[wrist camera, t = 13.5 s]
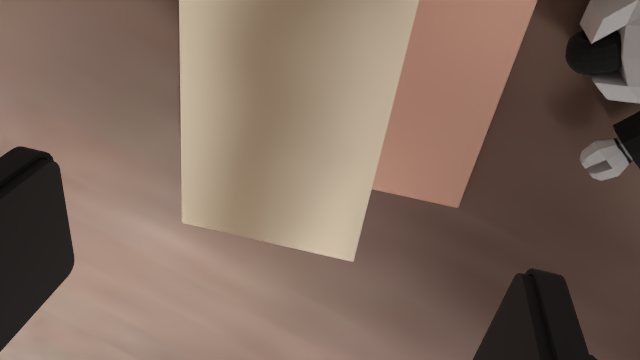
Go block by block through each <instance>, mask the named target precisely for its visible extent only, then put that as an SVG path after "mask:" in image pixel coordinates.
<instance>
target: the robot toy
mask: <svg viewBox="0 0 640 360" xmlns="http://www.w3.org/2000/svg"><path fill="white" fill-rule="evenodd" d="M580 25H581V27H582V29H583V30H582V31H580V32H578V33H576V34H575V35H574V36H572V38H571V39H570V40H569V41H568V44H567V48H566V60H567V63H568V65H569V66H570V67H571V68H572V69H573V70H574V71H576V72H577V73H581V74H587V75H590V76H591V78H592V80H593V82H594V84H595V85H596V86H597V87H598V89H599V90H600V91H601V92H602V94H603V95H604V96H605V98H606V99H607V100H614V101H622V102H631V103H639V104H640V0H591V1H590V2H589V4H588V6H587V8H586V11H585V13H584V15H583V17H582V19H581V22H580ZM613 127H614V129H615V132H616V134H617V135H618V137H619V139H618V138H613V139H604V140H595V141H594V142H593V143H591V144H590V145H589V146H588V147H586V148H585V149H584V150H582V152H581V156H580V162H581V164H582V165H583V166H584V168H585V169H586V168H587V169H588V172H589V174H590V176H591V177H592V178H594V179H597V180H600V181H602V180H606V179H610V178H614V177H617V176H619V175H620V174H621V173H622V172H623V171H624V170H625V168H626V167H627V166H628V165H629V164H630V163H631V162H632V159H633V160H634V162H635V163H636V164H637V166H638V167H639V168H640V111H639V112H637V113H636V114H634V115H632V116H630V117H628V118H626V119H624V120H622V121H620V122H618V123H617V124H615V125H613Z"/></svg>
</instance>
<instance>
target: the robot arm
mask: <svg viewBox="0 0 640 360" xmlns="http://www.w3.org/2000/svg"><path fill="white" fill-rule="evenodd" d="M73 265H74V253H73V247H72V241H71V234H70V228H69V222H68V216H67V210H66V204H65V198H64V192H63V185H62V179H61V173H60V168H59V165H58V164H57V163H56V162H54V160H53V157H52V156H51V155H50V154H49V153H47V152H43V151H39V150H35V149H30V148H26V147H16V148H14V149H12V150H10V151H9V152H7V153H6V154H4V155H3V156H1V157H0V351H1V350H2V349H3V348H4V347H5V346H6V345H7V344H8V343H9V341H10V340H11V339H12V338H13V337H14V336H15V335H16V334H17V332H18V331H19V330H20V329H21V328H22V327H23V326H24V325H25V324H26V322H27V321H28V320H29V319H30V318H31V317H32V316H33V315H34V313H35V312H36V311H37V310H38V309H39V308H40V307H41V306H42V305H43V303H44V302H45V301H46V300H47V299H48V298H49V297H50V296H51V294H52V293H53V292H54V291H55V290H56V289H57V288H58V287H59V286H60V284H61V283H62V282H63V281H64V280H65V279H66V278H67V277H68V275H69V274H70V272H71V271H72V268H73ZM473 360H597V359H596V358H595V357H594V356H592V355H589V352H588V349H587V346H586V343H585V340H584V337H583V334H582V331H581V328H580V325H579V321H578V318H577V315H576V312H575V309H574V306H573V303H572V300H571V297H570V294H569V290H568V287H567V284H566V281H565V279H564V277H563V276H561V275H558V274H554V273H550V272H545V271H541V270H537V269H533V268H532V269H529V270H528V271H527V272H526V273H525V274H521V273H518V274H516V275H515V277H514V279H513V281H512V283H511V285H510V287H509V289H508V291H507V293H506V295H505V297H504V299H503V301H502V303H501V305H500V307H499V309H498V311H497V313H496V315H495V317H494V319H493V320H492V322H491V324H490V326H489V328H488V330H487V332H486V334H485V336H484V338H483V340H482V342H481V344H480V346H479V348H478V350H477V352H476V354H475V356H474V358H473Z"/></svg>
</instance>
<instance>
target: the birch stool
mask: <svg viewBox="0 0 640 360" xmlns="http://www.w3.org/2000/svg"><path fill="white" fill-rule="evenodd" d="M418 3H419V0H179V33H180V105H181V177H182V223H185V224H190V225H194V226H198V227H203V228H207V229H211V230H216V231H220V232H224V233H229V234H233V235H237V236H242V237H246V238H251V239H255V240H259V241H264V242H268V243H272V244H277V245H281V246H285V247H290V248H294V249H299V250H303V251H307V252H312V253H316V254H320V255H325V256H329V257H333V258H338V259H342V260H346V261H351V262H353V261H354V257H355V253H356V249H357V245H358V241H359V237H360V233H361V229H362V225H363V221H364V217H365V213H366V210H367V206H368V202H369V198H370V194H371V190H372V186H373V182H374V178H375V174H376V170H377V166H378V162H379V158H380V154H381V150H382V146H383V142H384V138H385V134H386V130H387V126H388V122H389V118H390V114H391V110H392V106H393V102H394V98H395V94H396V90H397V86H398V82H399V78H400V74H401V70H402V66H403V62H404V58H405V54H406V50H407V46H408V42H409V38H410V35H411V31H412V27H413V23H414V19H415V15H416V11H417V7H418Z"/></svg>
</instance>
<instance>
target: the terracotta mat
mask: <svg viewBox="0 0 640 360" xmlns="http://www.w3.org/2000/svg"><path fill="white" fill-rule="evenodd" d="M536 3H537V0H419V3H418V7H417V11H416V15H415V19H414V23H413V27H412V31H411V35H410V38H409V42H408V46H407V50H406V54H405V58H404V62H403V66H402V70H401V74H400V78H399V82H398V86H397V90H396V94H395V98H394V102H393V106H392V110H391V114H390V118H389V122H388V126H387V130H386V134H385V138H384V142H383V146H382V150H381V154H380V158H379V162H378V166H377V170H376V174H375V178H374V182H373V186H372V189H373V190H378V191H382V192H387V193H391V194H396V195H400V196H405V197H410V198H414V199H419V200H423V201H428V202H432V203H437V204H441V205H446V206H450V207H455V208H458V207H459V204H460V201H461V199H462V196H463V194H464V191H465V188H466V186H467V183H468V181H469V178H470V175H471V173H472V170H473V167H474V165H475V162H476V160H477V157H478V154H479V152H480V149H481V147H482V144H483V141H484V139H485V136H486V134H487V131H488V128H489V126H490V123H491V120H492V118H493V115H494V113H495V110H496V107H497V105H498V102H499V100H500V97H501V94H502V92H503V89H504V87H505V84H506V81H507V79H508V76H509V73H510V71H511V68H512V66H513V63H514V60H515V58H516V55H517V53H518V50H519V47H520V45H521V42H522V40H523V37H524V34H525V32H526V29H527V26H528V24H529V21H530V19H531V16H532V13H533V11H534V8H535V6H536Z"/></svg>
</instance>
